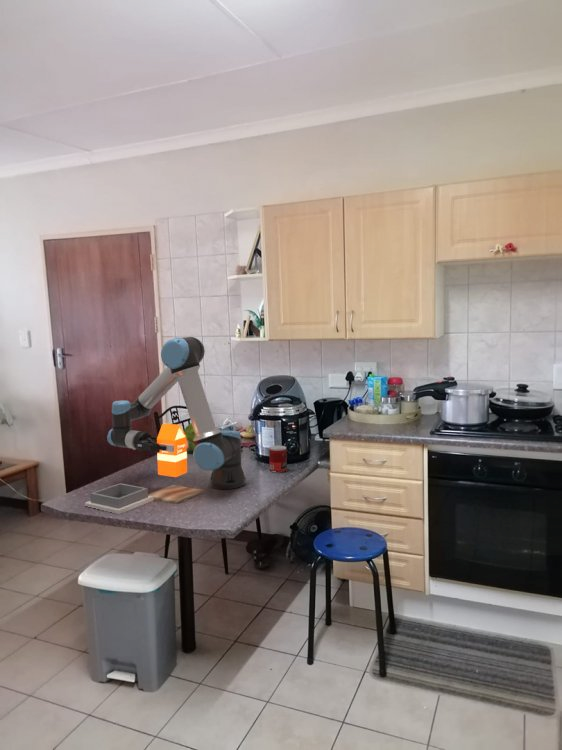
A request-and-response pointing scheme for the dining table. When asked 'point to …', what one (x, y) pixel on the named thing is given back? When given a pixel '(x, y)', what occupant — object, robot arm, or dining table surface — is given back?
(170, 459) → the orange juice
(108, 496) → the collar holder
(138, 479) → the dining table surface
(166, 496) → the oak board
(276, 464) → the canned food
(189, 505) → the dining table surface
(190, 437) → the lettuce
